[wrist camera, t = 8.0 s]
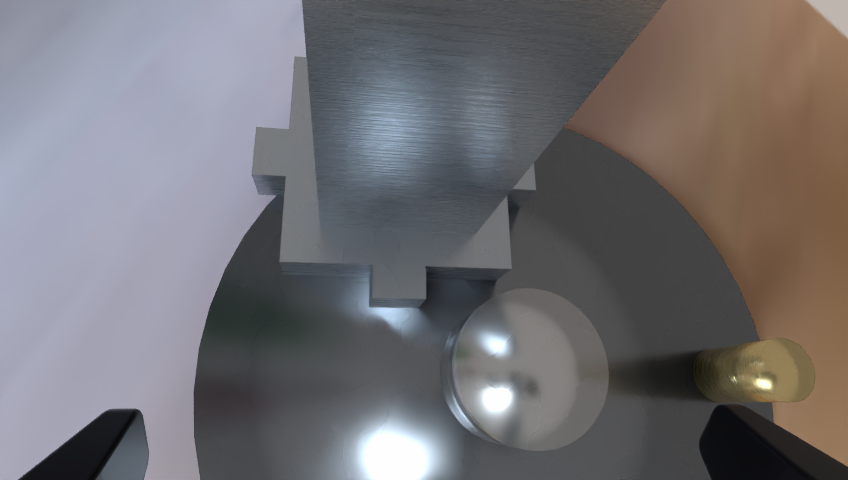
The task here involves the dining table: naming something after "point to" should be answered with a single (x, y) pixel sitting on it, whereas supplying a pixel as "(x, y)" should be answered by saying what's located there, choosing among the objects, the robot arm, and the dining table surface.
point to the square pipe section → (428, 131)
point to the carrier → (494, 350)
